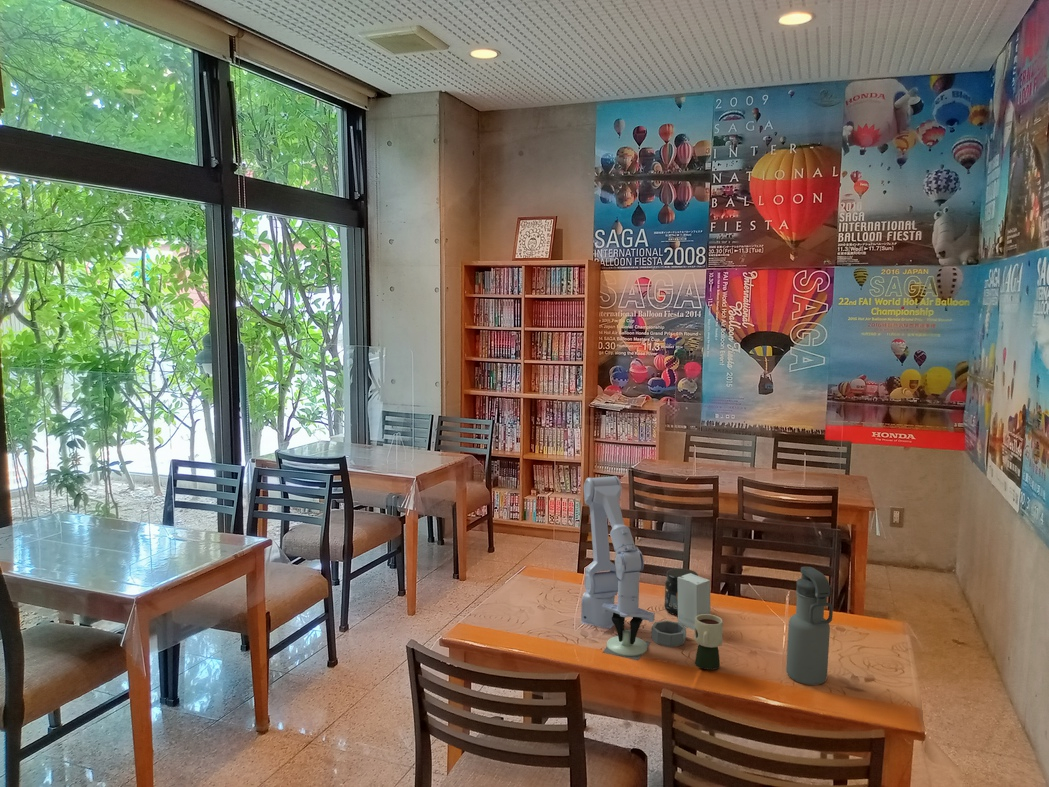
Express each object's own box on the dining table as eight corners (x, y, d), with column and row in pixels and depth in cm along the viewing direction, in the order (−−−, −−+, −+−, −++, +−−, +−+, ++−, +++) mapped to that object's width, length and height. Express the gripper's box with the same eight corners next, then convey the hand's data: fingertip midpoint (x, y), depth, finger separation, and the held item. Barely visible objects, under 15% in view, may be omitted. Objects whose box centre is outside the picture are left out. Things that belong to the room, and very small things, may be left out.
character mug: (697, 655, 197) (699, 609, 196) (724, 660, 195) (726, 613, 193) (689, 673, 188) (691, 624, 186) (717, 679, 185) (719, 630, 183)
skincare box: (710, 629, 214) (712, 580, 212) (696, 634, 210) (698, 584, 209) (689, 619, 221) (691, 571, 219) (675, 623, 217) (677, 575, 216)
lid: (601, 651, 198) (601, 635, 197) (614, 635, 208) (614, 620, 207) (640, 659, 193) (640, 643, 193) (651, 643, 203) (652, 627, 203)
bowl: (648, 644, 204) (648, 630, 203) (657, 631, 212) (657, 618, 211) (680, 651, 200) (680, 637, 199) (687, 638, 208) (688, 624, 207)
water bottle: (836, 685, 182) (842, 577, 179) (801, 689, 180) (807, 580, 177) (811, 665, 192) (817, 563, 189) (778, 669, 190) (783, 565, 187)
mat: (602, 654, 197) (602, 652, 197) (616, 636, 208) (616, 634, 208) (637, 662, 193) (637, 660, 193) (650, 643, 204) (650, 641, 204)
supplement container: (675, 601, 234) (677, 565, 233) (704, 610, 227) (706, 573, 226) (657, 610, 227) (658, 573, 226) (686, 620, 220) (688, 582, 218)
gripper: (598, 594, 198) (597, 641, 200) (650, 604, 192) (648, 653, 194) (606, 585, 205) (605, 631, 206) (657, 594, 198) (655, 642, 200)
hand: (627, 641), depth 200 cm, fingers open, 3 cm apart
